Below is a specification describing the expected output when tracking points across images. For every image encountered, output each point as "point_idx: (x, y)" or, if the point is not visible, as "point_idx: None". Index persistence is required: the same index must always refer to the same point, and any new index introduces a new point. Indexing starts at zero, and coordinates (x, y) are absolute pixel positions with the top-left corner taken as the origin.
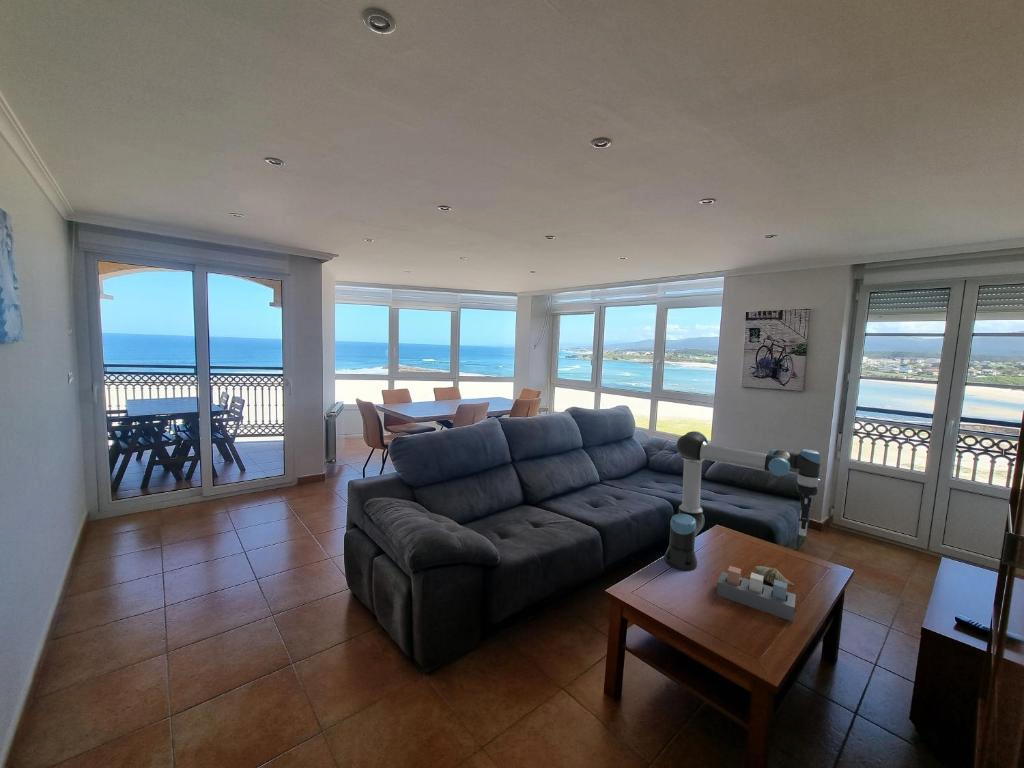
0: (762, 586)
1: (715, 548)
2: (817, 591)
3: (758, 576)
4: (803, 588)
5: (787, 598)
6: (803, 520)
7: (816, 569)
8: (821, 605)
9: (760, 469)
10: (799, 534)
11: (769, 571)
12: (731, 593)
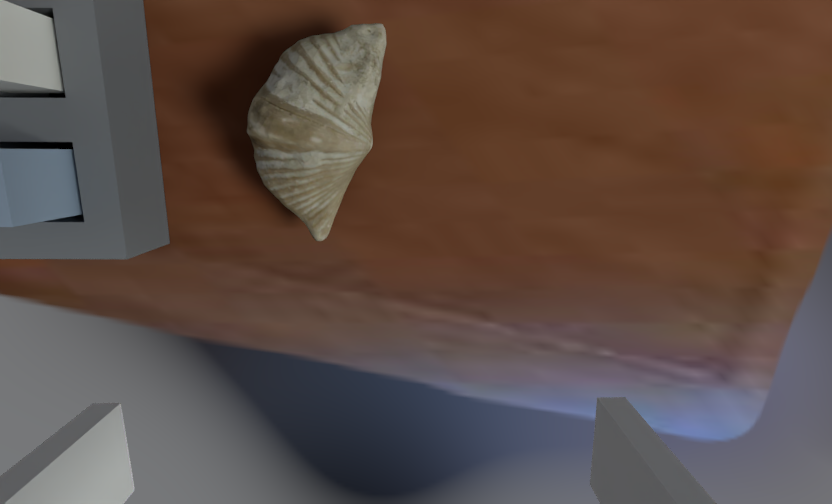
0: (4, 86)
1: None
2: (415, 329)
3: None
4: (402, 274)
5: (45, 222)
6: None
7: (670, 326)
8: (287, 343)
9: None
10: (90, 416)
11: (259, 109)
12: None
